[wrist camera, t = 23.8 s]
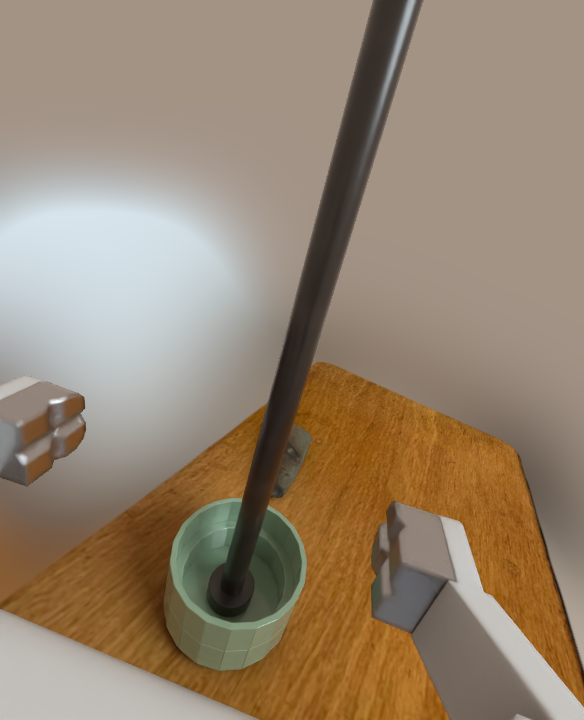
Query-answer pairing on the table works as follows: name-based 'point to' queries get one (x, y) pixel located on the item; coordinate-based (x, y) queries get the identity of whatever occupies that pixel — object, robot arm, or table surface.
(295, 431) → the stone
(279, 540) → the bowl
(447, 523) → the robot arm
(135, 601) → the table surface
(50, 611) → the table surface
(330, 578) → the table surface
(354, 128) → the stick
